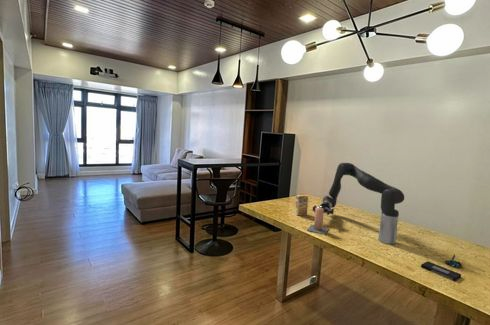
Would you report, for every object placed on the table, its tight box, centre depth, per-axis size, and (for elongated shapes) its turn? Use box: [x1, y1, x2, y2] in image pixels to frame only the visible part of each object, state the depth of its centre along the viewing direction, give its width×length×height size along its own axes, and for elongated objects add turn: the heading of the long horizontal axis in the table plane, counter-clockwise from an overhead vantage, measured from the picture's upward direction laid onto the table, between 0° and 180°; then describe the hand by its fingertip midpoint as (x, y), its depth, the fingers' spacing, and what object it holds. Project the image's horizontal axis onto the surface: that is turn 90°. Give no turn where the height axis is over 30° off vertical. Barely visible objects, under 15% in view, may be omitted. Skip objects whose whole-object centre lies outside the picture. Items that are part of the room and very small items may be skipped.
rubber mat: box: [306, 224, 330, 236], centre depth 178 cm, size 12×12×1 cm
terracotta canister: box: [313, 208, 325, 231], centre depth 177 cm, size 5×5×14 cm
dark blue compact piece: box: [444, 253, 463, 269], centre depth 139 cm, size 8×7×8 cm
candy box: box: [294, 194, 309, 216], centre depth 209 cm, size 9×4×15 cm, turn 107°
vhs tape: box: [420, 260, 462, 283], centre depth 130 cm, size 8×14×2 cm, turn 33°
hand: (321, 212), depth 184 cm, fingers open, 8 cm apart
